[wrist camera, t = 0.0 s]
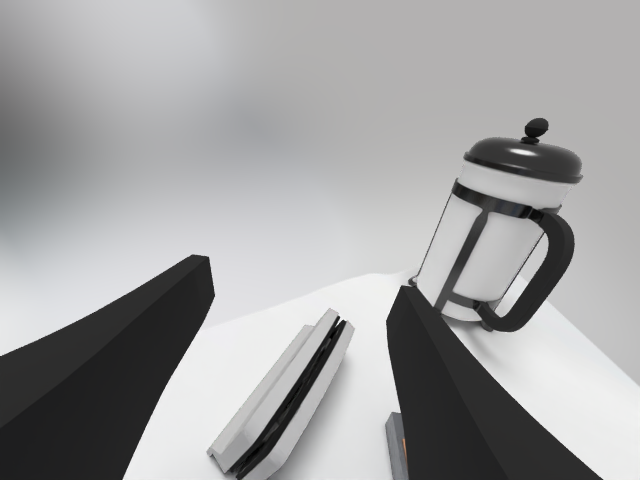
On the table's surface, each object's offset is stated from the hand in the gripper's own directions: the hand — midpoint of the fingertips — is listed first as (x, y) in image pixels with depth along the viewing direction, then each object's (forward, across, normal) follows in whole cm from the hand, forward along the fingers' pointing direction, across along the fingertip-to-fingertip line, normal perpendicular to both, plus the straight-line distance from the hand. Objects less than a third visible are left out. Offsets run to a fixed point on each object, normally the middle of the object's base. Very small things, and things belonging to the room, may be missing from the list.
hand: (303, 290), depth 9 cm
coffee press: (+24, -25, +24) cm, 42 cm away
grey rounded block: (+6, 0, +23) cm, 23 cm away
